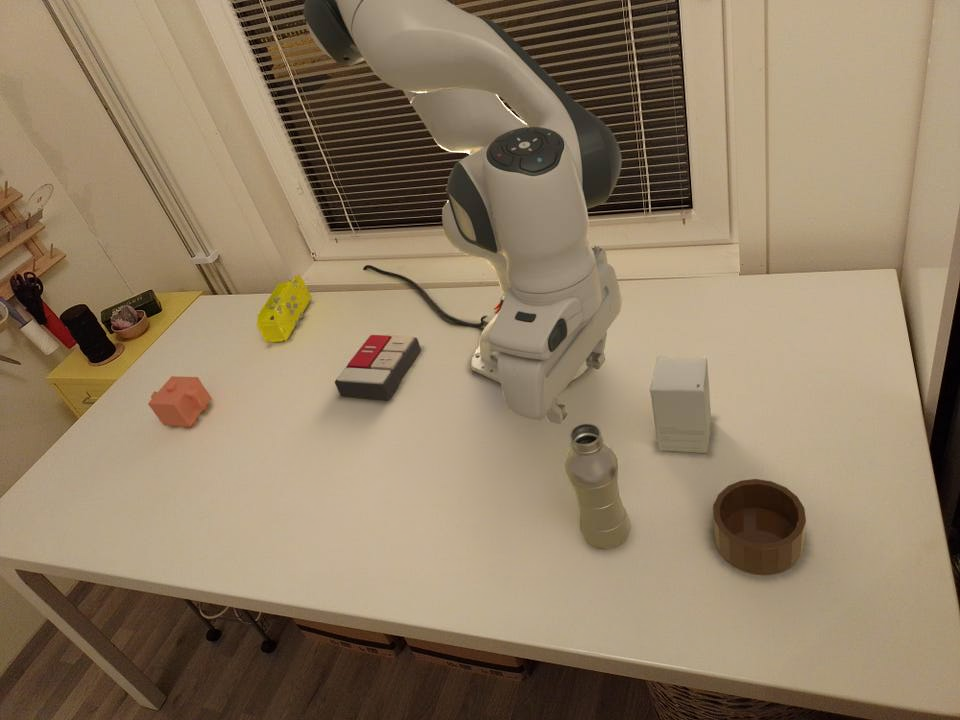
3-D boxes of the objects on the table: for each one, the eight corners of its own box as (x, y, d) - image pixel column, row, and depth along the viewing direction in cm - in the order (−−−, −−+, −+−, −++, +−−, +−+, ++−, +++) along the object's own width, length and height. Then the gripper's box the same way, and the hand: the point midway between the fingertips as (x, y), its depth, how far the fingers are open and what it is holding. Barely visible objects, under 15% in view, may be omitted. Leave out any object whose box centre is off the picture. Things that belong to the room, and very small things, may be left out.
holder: (702, 557, 90) (700, 531, 87) (730, 495, 96) (729, 469, 93) (789, 588, 84) (791, 561, 81) (813, 520, 90) (815, 493, 87)
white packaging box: (712, 418, 108) (709, 356, 100) (708, 454, 102) (704, 392, 95) (662, 415, 110) (656, 354, 103) (656, 451, 105) (649, 389, 98)
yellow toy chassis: (289, 343, 153) (273, 313, 148) (266, 345, 154) (250, 315, 149) (314, 300, 165) (300, 270, 159) (293, 302, 166) (278, 273, 161)
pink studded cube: (176, 400, 146) (156, 371, 141) (222, 402, 142) (202, 372, 137) (154, 428, 141) (131, 398, 136) (200, 431, 136) (179, 400, 131)
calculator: (416, 333, 137) (382, 383, 127) (422, 351, 140) (389, 401, 129) (369, 332, 142) (332, 379, 131) (375, 349, 144) (339, 396, 134)
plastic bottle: (631, 555, 93) (612, 453, 81) (580, 554, 95) (554, 455, 83) (632, 515, 98) (615, 413, 85) (583, 515, 100) (560, 415, 87)
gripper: (575, 234, 79) (593, 331, 87) (477, 347, 67) (509, 445, 76) (627, 240, 75) (641, 339, 84) (533, 359, 64) (560, 461, 72)
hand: (577, 391), depth 80 cm, fingers open, 8 cm apart
